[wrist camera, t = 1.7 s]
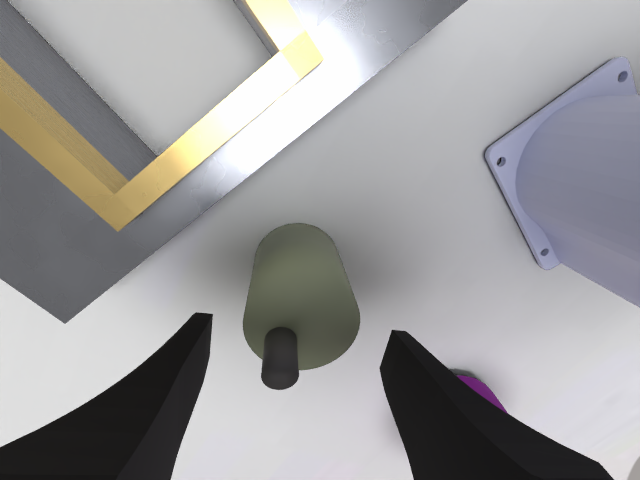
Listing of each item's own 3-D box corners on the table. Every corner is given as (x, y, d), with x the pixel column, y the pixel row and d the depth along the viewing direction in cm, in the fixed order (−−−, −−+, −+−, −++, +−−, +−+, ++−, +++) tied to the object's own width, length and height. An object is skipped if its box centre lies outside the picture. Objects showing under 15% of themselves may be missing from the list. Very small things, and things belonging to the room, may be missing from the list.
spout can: (354, 267, 20) (396, 362, 12) (290, 311, 20) (294, 426, 13) (304, 206, 18) (319, 274, 11) (237, 257, 19) (206, 355, 11)
